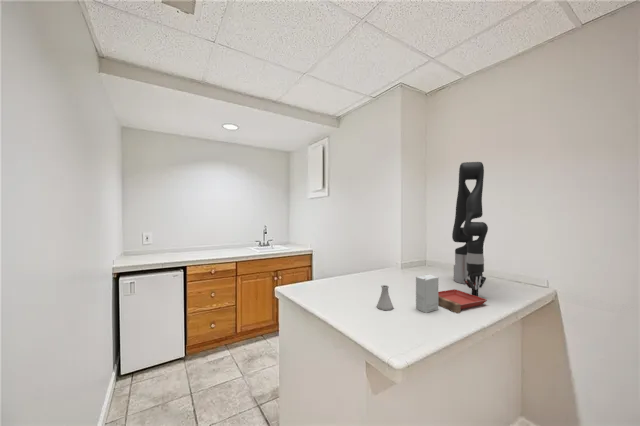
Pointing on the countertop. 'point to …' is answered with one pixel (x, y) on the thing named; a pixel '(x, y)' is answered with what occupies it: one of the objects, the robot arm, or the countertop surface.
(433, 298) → the skincare box
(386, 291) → the flask
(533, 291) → the countertop surface
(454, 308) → the bar
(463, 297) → the plant saucer
